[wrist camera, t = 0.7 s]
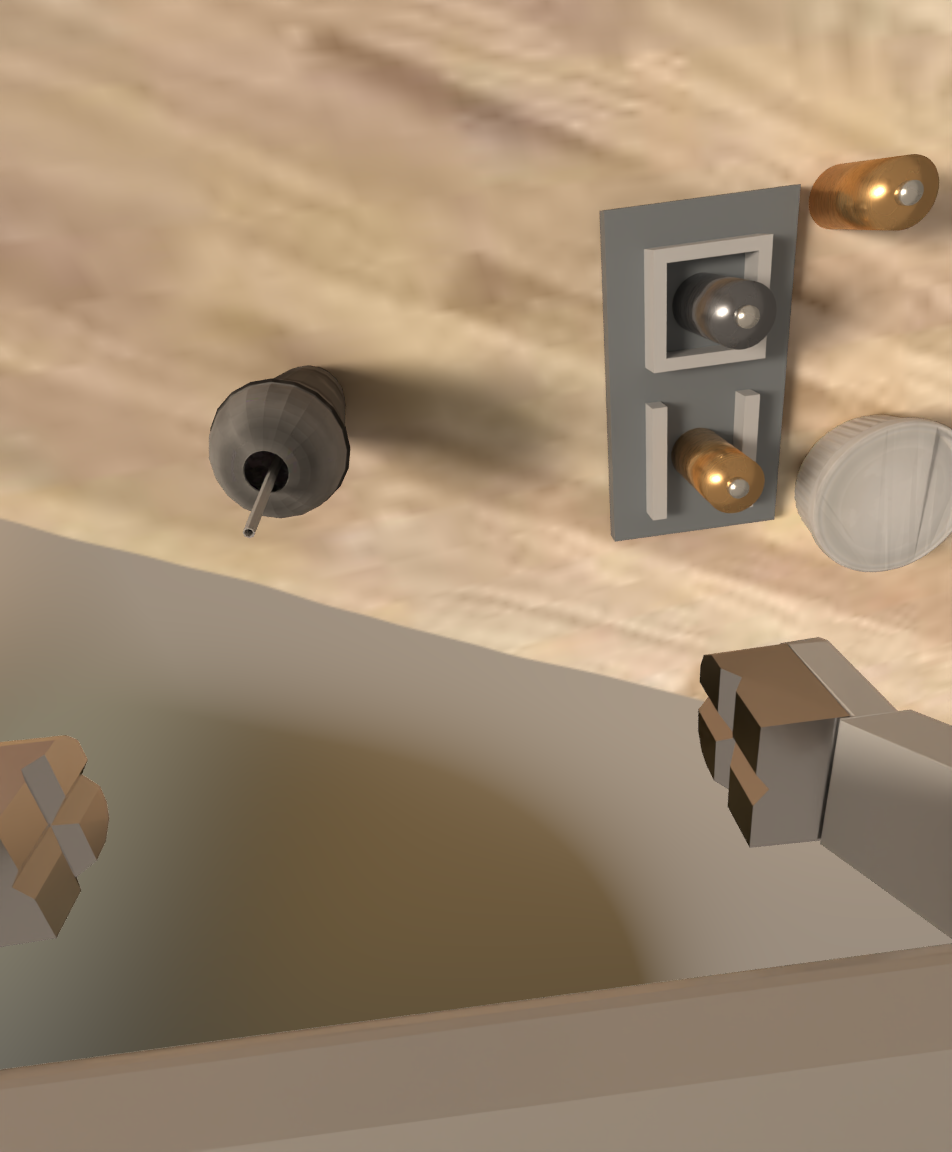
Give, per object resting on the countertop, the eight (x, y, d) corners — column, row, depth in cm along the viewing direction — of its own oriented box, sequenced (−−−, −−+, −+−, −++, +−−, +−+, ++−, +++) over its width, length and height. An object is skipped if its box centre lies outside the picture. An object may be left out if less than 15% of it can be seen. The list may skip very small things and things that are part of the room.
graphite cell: (672, 276, 44) (717, 286, 38) (729, 268, 44) (784, 277, 38) (672, 335, 46) (715, 355, 39) (726, 328, 46) (779, 346, 39)
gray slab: (599, 210, 44) (612, 210, 41) (791, 185, 44) (817, 182, 41) (611, 535, 54) (621, 552, 51) (767, 513, 54) (786, 530, 51)
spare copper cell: (671, 431, 49) (711, 465, 42) (722, 424, 49) (770, 457, 42) (671, 480, 51) (709, 520, 44) (720, 473, 51) (766, 512, 44)
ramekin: (950, 485, 54) (1001, 510, 49) (819, 570, 56) (855, 602, 52) (892, 368, 49) (942, 384, 45) (753, 467, 52) (787, 491, 47)
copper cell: (811, 167, 43) (883, 158, 37) (869, 160, 43) (952, 148, 37) (806, 232, 45) (874, 234, 38) (861, 225, 45) (939, 225, 38)
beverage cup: (362, 343, 46) (324, 420, 28) (368, 451, 49) (339, 582, 32) (248, 343, 46) (137, 421, 28) (262, 453, 49) (171, 585, 31)
